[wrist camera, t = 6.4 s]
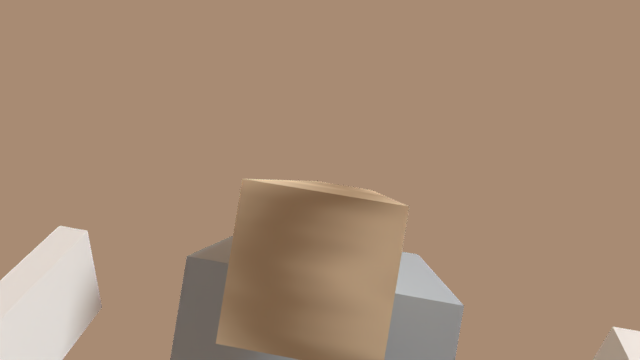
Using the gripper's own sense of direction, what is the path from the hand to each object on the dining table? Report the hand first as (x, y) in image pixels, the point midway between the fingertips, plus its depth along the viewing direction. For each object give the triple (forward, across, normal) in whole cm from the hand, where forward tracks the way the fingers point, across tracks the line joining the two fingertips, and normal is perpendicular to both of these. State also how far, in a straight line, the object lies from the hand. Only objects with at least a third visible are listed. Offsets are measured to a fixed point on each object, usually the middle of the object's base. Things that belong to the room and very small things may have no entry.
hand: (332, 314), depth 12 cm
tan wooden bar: (+9, -1, -6) cm, 11 cm away
